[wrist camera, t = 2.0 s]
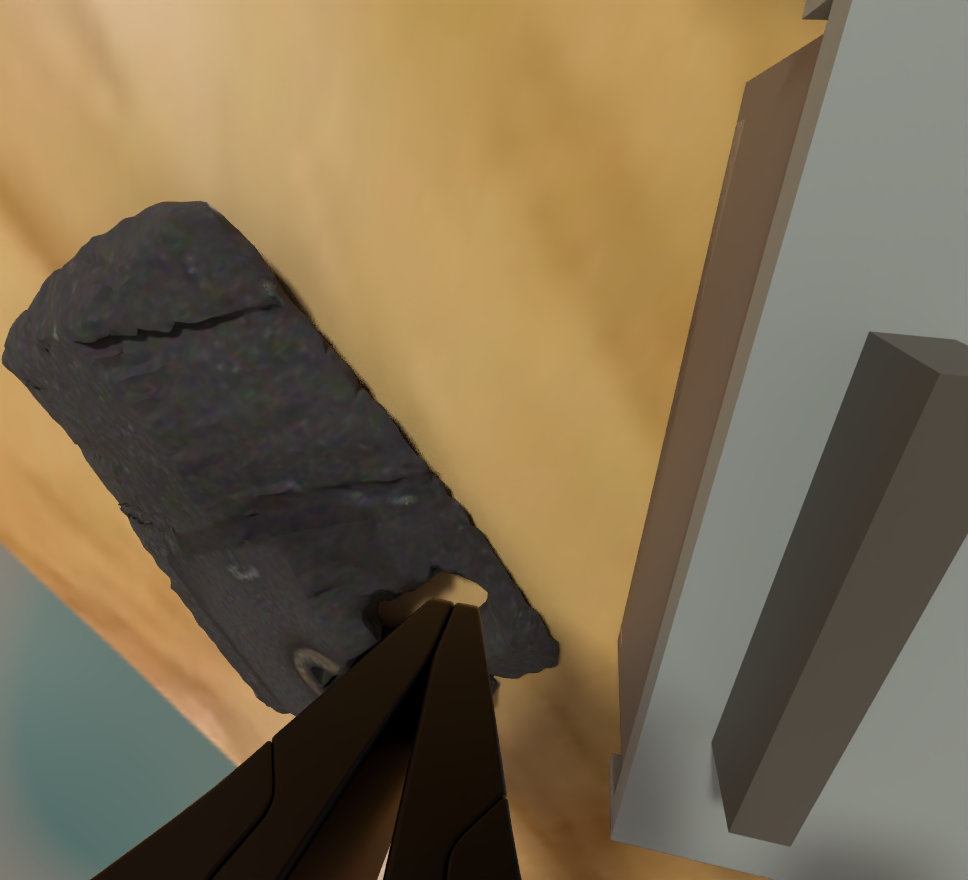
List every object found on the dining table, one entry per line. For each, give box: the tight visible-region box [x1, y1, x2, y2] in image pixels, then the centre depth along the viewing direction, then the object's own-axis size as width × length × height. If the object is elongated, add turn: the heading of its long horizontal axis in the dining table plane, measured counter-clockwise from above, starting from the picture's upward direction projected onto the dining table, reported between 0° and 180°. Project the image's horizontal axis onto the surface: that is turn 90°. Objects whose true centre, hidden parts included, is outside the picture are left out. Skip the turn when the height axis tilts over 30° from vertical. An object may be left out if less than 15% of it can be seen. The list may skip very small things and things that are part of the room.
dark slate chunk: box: [2, 201, 559, 716], centre depth 19 cm, size 15×22×5 cm
